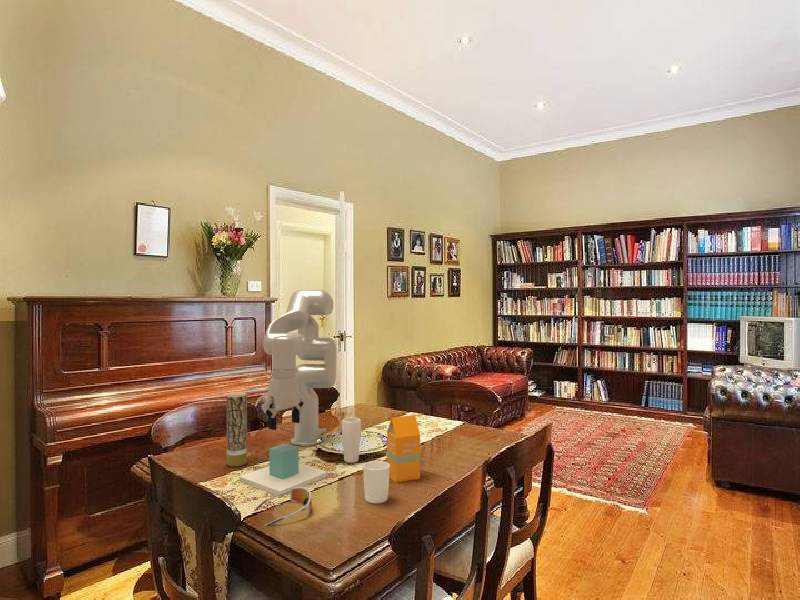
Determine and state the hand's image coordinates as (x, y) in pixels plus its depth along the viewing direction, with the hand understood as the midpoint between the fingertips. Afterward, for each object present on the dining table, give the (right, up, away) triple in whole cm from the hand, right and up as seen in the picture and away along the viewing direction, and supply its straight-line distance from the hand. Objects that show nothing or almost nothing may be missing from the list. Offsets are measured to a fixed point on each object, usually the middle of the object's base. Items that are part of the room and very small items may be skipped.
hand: (284, 425), depth 160 cm
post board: (0, -17, 0) cm, 17 cm away
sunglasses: (+6, -18, -24) cm, 31 cm away
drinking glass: (+20, -17, +17) cm, 32 cm away
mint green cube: (0, -16, 0) cm, 16 cm away
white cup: (+31, -18, -15) cm, 39 cm away
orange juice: (+39, -18, +2) cm, 43 cm away
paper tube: (-20, -17, +13) cm, 30 cm away
